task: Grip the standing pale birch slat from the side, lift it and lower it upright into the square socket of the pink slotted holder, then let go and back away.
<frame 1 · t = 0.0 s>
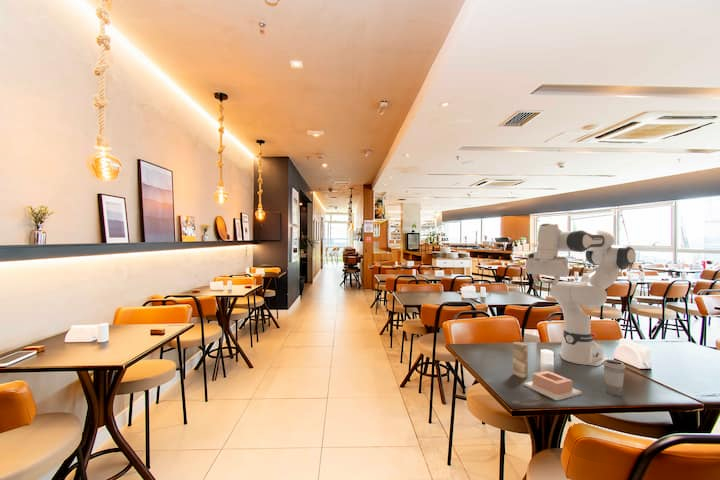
hand: (544, 284, 154), 39 cm above the table, fingers open, 8 cm apart
slat: (520, 375, 142), on the table
cup: (614, 393, 125), on the table
pink slotted holder: (552, 389, 128), on the table
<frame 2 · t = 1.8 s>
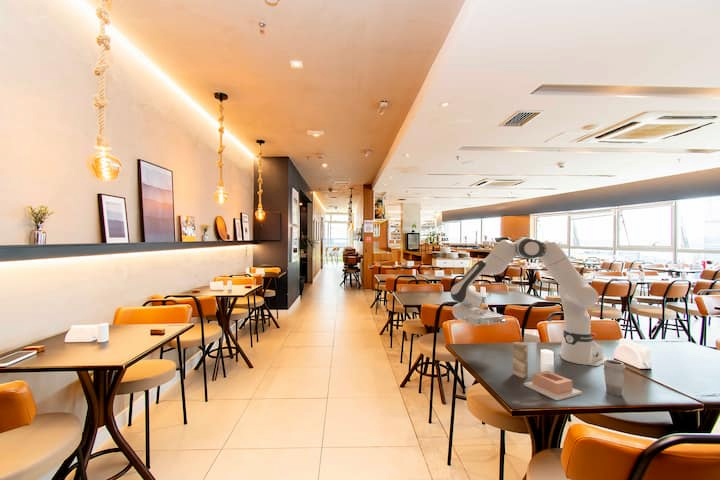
hand: (497, 322, 154), 20 cm above the table, fingers open, 8 cm apart
nothing on the table moved.
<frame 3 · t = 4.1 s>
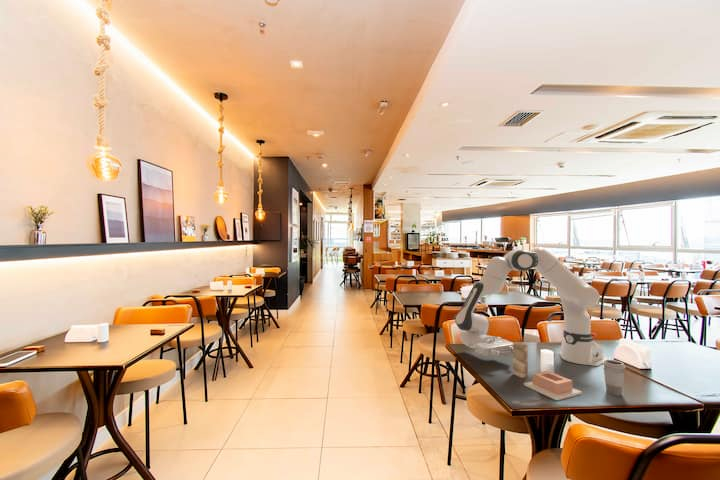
hand: (507, 352, 148), 8 cm above the table, fingers open, 8 cm apart
nothing on the table moved.
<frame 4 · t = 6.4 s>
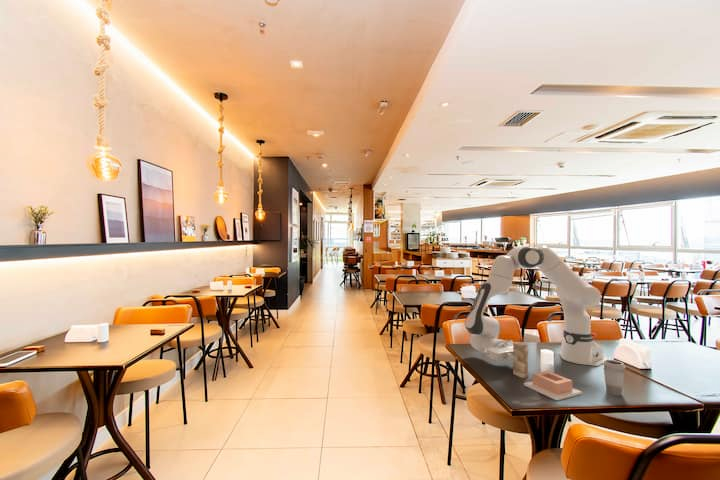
hand: (522, 357, 141), 8 cm above the table, fingers closed on slat, 3 cm apart
slat: (520, 375, 142), on the table, touching gripper
everything else where it was.
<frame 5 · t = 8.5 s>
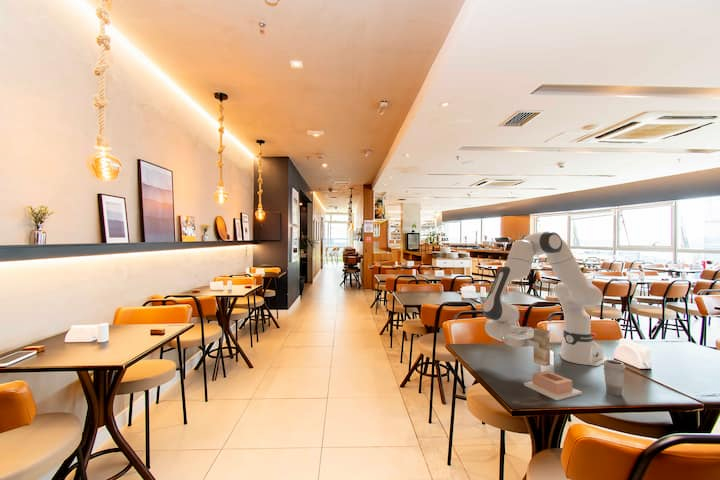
hand: (543, 344, 131), 17 cm above the table, fingers closed on slat, 3 cm apart
slat: (541, 363, 132), point 9 cm above the table, touching gripper
everything else where it was.
when the fingers open (10 cm above the table, at t = 11.1 s): slat drops 1 cm, resting on pink slotted holder.
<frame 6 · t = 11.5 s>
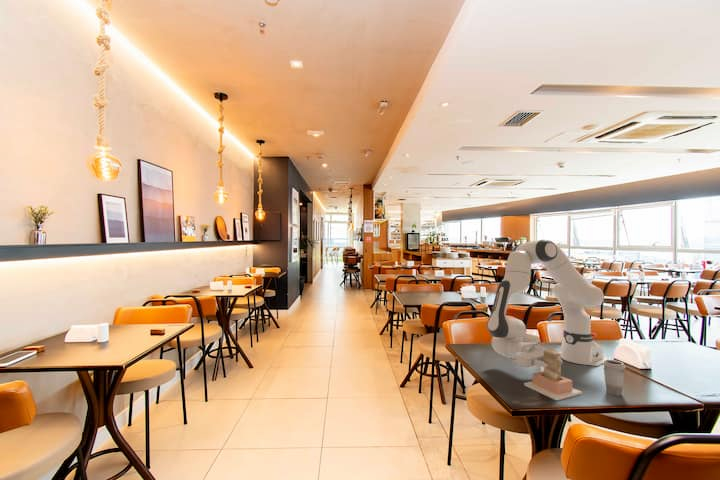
hand: (554, 363, 127), 10 cm above the table, fingers open, 7 cm apart
slat: (552, 387, 128), point 1 cm above the table, touching pink slotted holder
everything else where it was.
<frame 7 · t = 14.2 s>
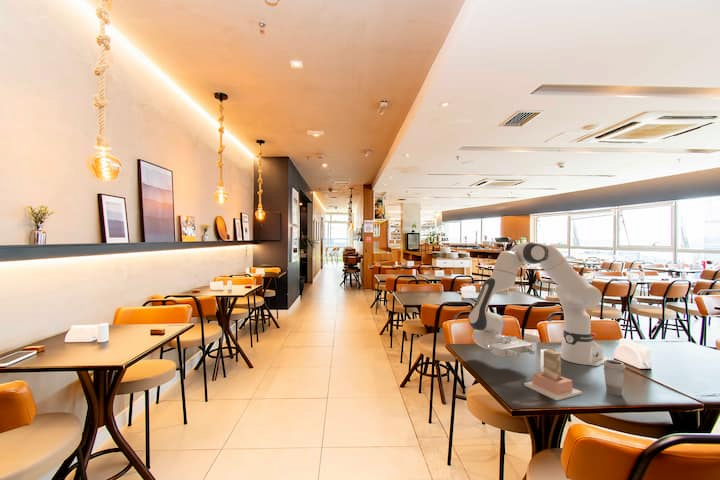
hand: (526, 353, 139), 11 cm above the table, fingers open, 8 cm apart
nothing on the table moved.
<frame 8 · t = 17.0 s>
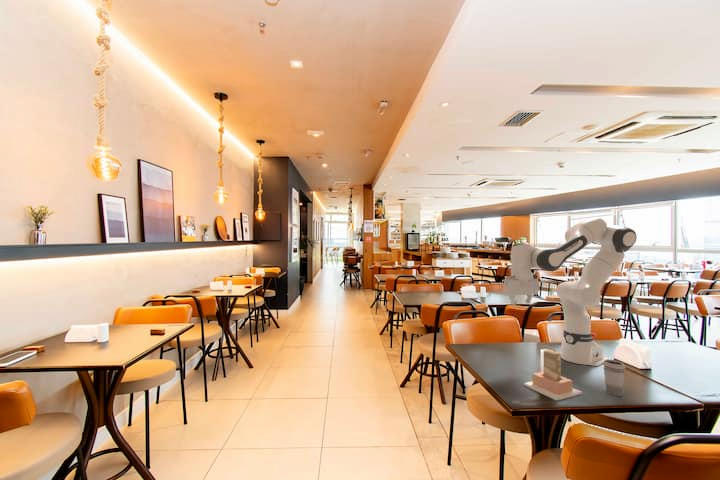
hand: (520, 304, 156), 29 cm above the table, fingers open, 8 cm apart
nothing on the table moved.
at the end: slat 0.0 cm off-centre on the pink slotted holder, point 1.0 cm above the pink slotted holder's base; slat tilted 0°; the gripper is holding nothing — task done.
